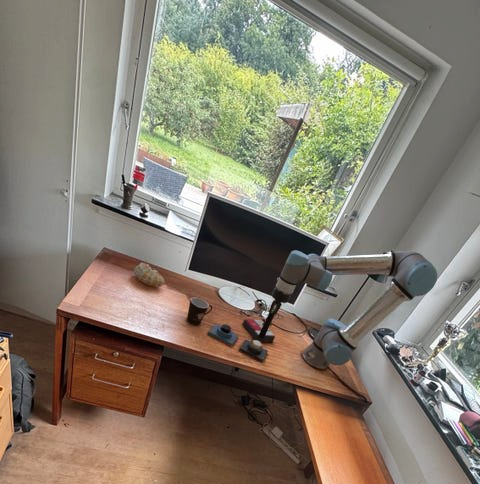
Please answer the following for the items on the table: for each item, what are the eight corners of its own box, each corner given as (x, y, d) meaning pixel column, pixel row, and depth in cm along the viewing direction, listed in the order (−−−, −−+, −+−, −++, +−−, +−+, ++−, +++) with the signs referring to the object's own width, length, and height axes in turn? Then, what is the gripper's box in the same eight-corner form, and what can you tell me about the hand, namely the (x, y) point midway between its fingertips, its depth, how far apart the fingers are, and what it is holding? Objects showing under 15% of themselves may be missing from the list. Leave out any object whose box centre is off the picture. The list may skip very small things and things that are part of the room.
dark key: (230, 331, 160) (232, 327, 159) (227, 334, 157) (229, 331, 155) (222, 326, 160) (224, 323, 159) (219, 330, 156) (220, 326, 155)
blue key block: (237, 337, 164) (240, 331, 162) (231, 346, 156) (233, 340, 154) (215, 326, 164) (217, 320, 162) (207, 334, 156) (210, 328, 154)
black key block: (266, 353, 164) (269, 347, 162) (261, 362, 157) (265, 356, 154) (244, 341, 164) (247, 335, 162) (238, 350, 156) (241, 344, 154)
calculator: (261, 319, 180) (276, 335, 171) (258, 326, 182) (272, 342, 174) (244, 317, 174) (258, 334, 165) (241, 325, 176) (255, 341, 168)
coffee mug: (185, 324, 155) (191, 305, 149) (183, 314, 161) (189, 295, 154) (209, 330, 159) (216, 311, 153) (207, 320, 165) (213, 302, 159)
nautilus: (133, 267, 176) (161, 277, 182) (130, 284, 160) (162, 294, 166) (136, 252, 171) (166, 263, 177) (134, 268, 156) (166, 279, 162)
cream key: (261, 346, 160) (262, 343, 159) (258, 350, 157) (260, 347, 155) (252, 342, 160) (254, 338, 159) (250, 346, 157) (252, 342, 155)
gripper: (278, 281, 145) (257, 328, 160) (271, 290, 135) (249, 339, 150) (293, 289, 145) (271, 335, 160) (288, 299, 135) (265, 347, 150)
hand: (260, 337), depth 155 cm, fingers closed
